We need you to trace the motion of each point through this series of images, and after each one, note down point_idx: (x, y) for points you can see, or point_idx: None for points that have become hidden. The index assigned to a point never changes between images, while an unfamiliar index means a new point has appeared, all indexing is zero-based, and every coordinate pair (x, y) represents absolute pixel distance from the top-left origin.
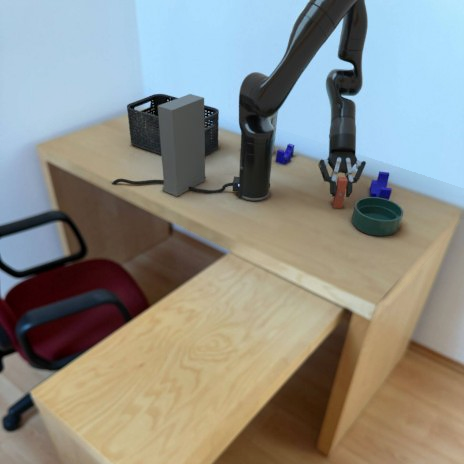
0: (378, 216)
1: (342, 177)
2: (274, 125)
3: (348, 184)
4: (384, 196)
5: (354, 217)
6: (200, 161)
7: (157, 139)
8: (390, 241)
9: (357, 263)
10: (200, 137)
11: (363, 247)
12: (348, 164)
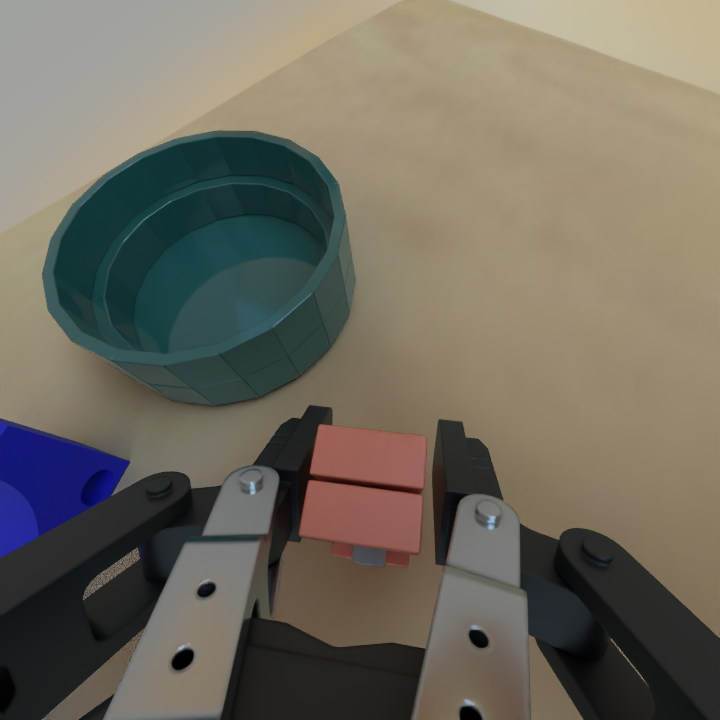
0: (180, 344)
1: (359, 524)
2: None
3: (302, 454)
4: (29, 429)
5: (350, 252)
6: None
7: None
8: None
9: (416, 89)
10: None
11: (363, 154)
12: (173, 708)
